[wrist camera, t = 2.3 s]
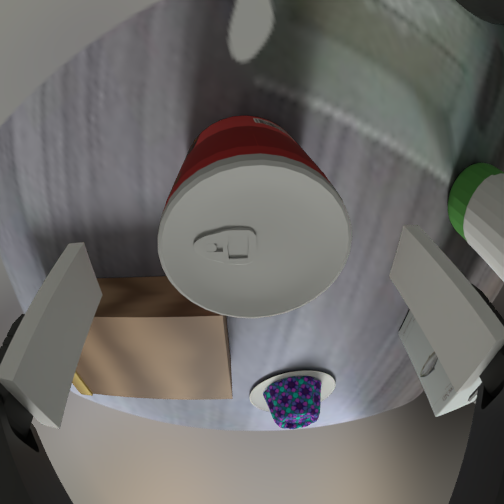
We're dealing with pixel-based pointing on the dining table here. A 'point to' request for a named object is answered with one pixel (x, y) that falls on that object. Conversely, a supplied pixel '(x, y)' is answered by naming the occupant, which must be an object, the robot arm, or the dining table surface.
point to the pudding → (293, 397)
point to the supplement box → (432, 370)
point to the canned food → (252, 222)
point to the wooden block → (153, 344)
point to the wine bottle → (480, 212)
